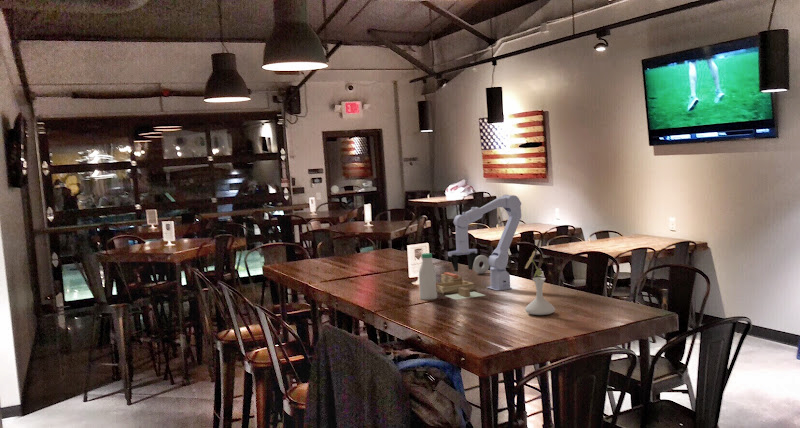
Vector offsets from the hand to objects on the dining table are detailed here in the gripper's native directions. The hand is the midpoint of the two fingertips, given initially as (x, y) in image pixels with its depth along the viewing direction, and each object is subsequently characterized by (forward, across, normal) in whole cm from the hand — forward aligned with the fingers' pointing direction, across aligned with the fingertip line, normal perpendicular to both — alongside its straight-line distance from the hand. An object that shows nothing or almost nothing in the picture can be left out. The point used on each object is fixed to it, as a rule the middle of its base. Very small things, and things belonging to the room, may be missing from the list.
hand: (463, 270), depth 312 cm
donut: (+10, -32, -36) cm, 50 cm away
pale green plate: (+10, +5, +9) cm, 14 cm away
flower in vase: (+10, +1, +57) cm, 58 cm away
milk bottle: (+10, +21, +4) cm, 23 cm away
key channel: (+10, -3, -18) cm, 21 cm away
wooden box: (+10, +2, -6) cm, 12 cm away
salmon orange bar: (+6, -3, -18) cm, 20 cm away
